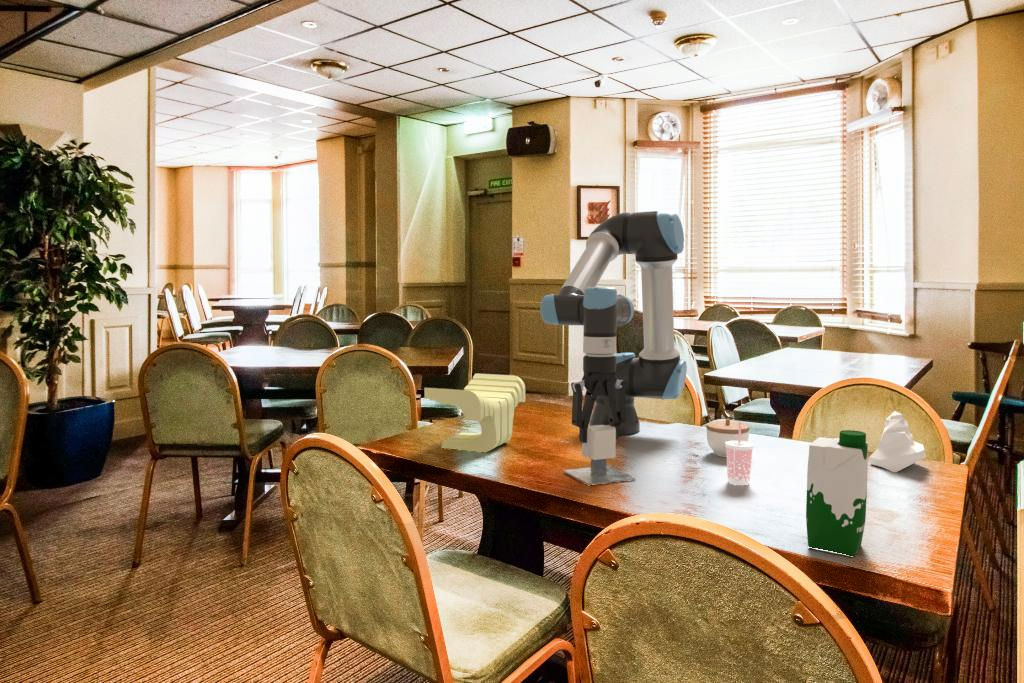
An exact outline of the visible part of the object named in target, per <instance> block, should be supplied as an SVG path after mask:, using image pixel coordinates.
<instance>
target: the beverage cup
mask: <svg viewBox="0 0 1024 683" xmlns="http://www.w3.org/2000/svg"><path fill="white" fill-rule="evenodd" d="M738 423H739V436H738V441H727V442H725V447H726V453H727V457H726V472H727V473H726V477H727V483H728V482H729V483H732V484H736V485H746V484H749V485H750V479H751V478H750V477H751V468H752V459H753V458H752V457H753V450H754V448H755V444H754V443H753V442H751V441H748V442H746V441H741V423H742V421H740V420H739V421H738ZM729 483H728V484H729Z"/></svg>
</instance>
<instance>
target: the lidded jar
mask: <svg viewBox="0 0 1024 683" xmlns="http://www.w3.org/2000/svg"><path fill="white" fill-rule="evenodd" d="M705 426H706V427H705V428H706V439H707V443H708V446H709V448H710V449H711V450H712V451H713V453H714V455H715V456H718V457H721V458H727V453H726V447H725V442H727V441H738V436H739V421H738V422H737V421H731V419H730V418H726V419H725V421H724V420H723V421H711V422H710V421H709V422H708V423H706V425H705ZM749 436H750V425H748V424H746V423H742V422H741V441H746V442H749Z"/></svg>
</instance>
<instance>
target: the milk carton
mask: <svg viewBox="0 0 1024 683" xmlns="http://www.w3.org/2000/svg"><path fill="white" fill-rule="evenodd" d="M868 451H869V443H868V442H867V433H866V432H864V431H859V430H848V429H847V430H845V429H844V430H840V431H839V437H838V438H837V437H834V438H829V437H822V436H819V437H817V438H816V439H815V440H814V441H812V442H811V443H810V444H809V448H808V460H807V470H806V471H807V474H806V479H807V480H806V500H805V501H806V504H805V519H806V521H805V522H806V536H807V547H808V546H809V547H812V548H818V549H823V550H828V551H833V552H837V553H842V554H846V555H849V556H855V557H856V555H855V554H857V553H858V551H859V549H860V548H861V545H862V541H863V536H864V531H865V526H866V520H867V519H866V518H867V517H866V515H867V496H868V495H867V493H868V492H867V491H868V472H869V471H868V465H869V464H868V463H869V456H868V454H869V452H868ZM859 547H860V548H859ZM856 552H857V553H856Z"/></svg>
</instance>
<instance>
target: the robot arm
mask: <svg viewBox="0 0 1024 683" xmlns="http://www.w3.org/2000/svg"><path fill="white" fill-rule="evenodd" d="M683 230H684V228H683V225H682V221H681V218H680V217H679V215H678V214H677V213H676V212H674V211H671V210H670V211H667V210H655V211H654V210H653V211H638V212H635V211H634V212H622V213H617V214H615V215H613V216H610V217H609V218H607V219H605V220H604V221H602V222H601V223H600V224H599V225H597V227H595V228H594V229H593V230H592V231H591V232H590V234H589V235H588V238H587V240H586V242H585V249H584V251H583V252H582V254H581V256H580V257H579V259H578V261H576V264H575V266H574V267H573V268H572V270H571V272H570V273H569V275H568V277H567V278H566V279H565V281H564V283H563V285H562V286H561V288H560V290H558V292H557V293H556V294H555V293H552V294H547V295H545V296H543V297H542V299H541V301H540V302H541V303H540V311H539V312H540V316H541V319H542V321H543V323H544V324H547V325H555V326H583V337H582V340H583V341H582V344H583V345H582V352H583V354H584V356H582V370H583V376H582V378H581V380H579V381H577V382H571V384H570V386H571V390H572V402H571V403H572V405H571V406H572V409H571V425H572V426H575V427H578V428H579V436H578V437H579V438H578V439H579V442H580V443H581V455H582V457H583V456H584V457H585V458H588V459H591V458H590V457H591V429H589V428H588V426H595V425H606V426H608V427H611V428H614V429H616V441H617V440H618V439H619V435H632V434H635V433H639V432H640V430H641V428H640V427H641V426H640V420H639V416H638V414H637V411H636V406H635V398H643V399H644V398H646V399H657V400H659V399H660V400H663V401H664V400H676V399H678V398H679V397H680V396H681V394H682V392H683V390H684V387H685V383H686V378H687V368H688V366H687V361H686V360H684V359H681V355H680V354H681V353H680V351H679V350H678V349H676V347H675V332H674V330H675V327H674V326H675V325H674V289H673V288H674V287H673V285H674V284H673V265H674V264H675V263H676V262H677V260H678V255H679V254H681V253H683V251H684V248H685V247H684V246H685V245H684V242H685V237H684V231H683ZM620 255H635V256H634V258H635V263H637V264H638V265H639V266H640V272H641V277H640V278H641V295H642V296H641V298H642V299H641V300H642V303H641V304H642V324H643V326H642V327H643V328H642V329H643V349H642V350H641V351H640V352H639V354H638V357H636V355H635V352H620V353H617V335H618V334H617V332H618V331H617V327H622V326H624V325H626V324H628V323H630V322H631V321H632V319H633V318H634V314H635V307H634V303H633V302H632V300H631V298H629V297H627V296H625V295H622V294H620V293H619V294H618V291H617V289H616V288H615V287H612V286H611V287H610V286H608V287H606V286H605V287H604V286H600V287H597V285H598V283H599V282H600V280H601V278H602V277H603V275H604V273H605V271H606V270H607V268H608V266H609V264H610V263H611V262H613V261H614V260H616V258H617V257H618V256H620ZM584 388H585V389H586V390H585V389H584ZM584 390H585V394H584V395H583V391H584ZM583 396H584V398H585V399H584V402H583Z"/></svg>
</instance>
